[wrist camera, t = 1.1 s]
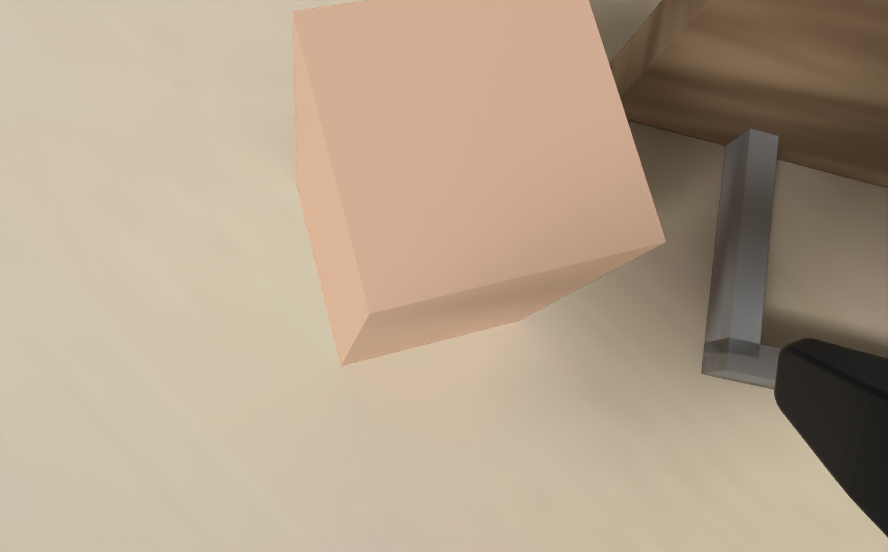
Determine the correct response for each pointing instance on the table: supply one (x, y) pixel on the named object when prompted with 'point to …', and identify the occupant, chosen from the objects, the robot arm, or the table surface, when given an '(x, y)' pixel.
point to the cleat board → (760, 127)
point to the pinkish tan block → (460, 164)
